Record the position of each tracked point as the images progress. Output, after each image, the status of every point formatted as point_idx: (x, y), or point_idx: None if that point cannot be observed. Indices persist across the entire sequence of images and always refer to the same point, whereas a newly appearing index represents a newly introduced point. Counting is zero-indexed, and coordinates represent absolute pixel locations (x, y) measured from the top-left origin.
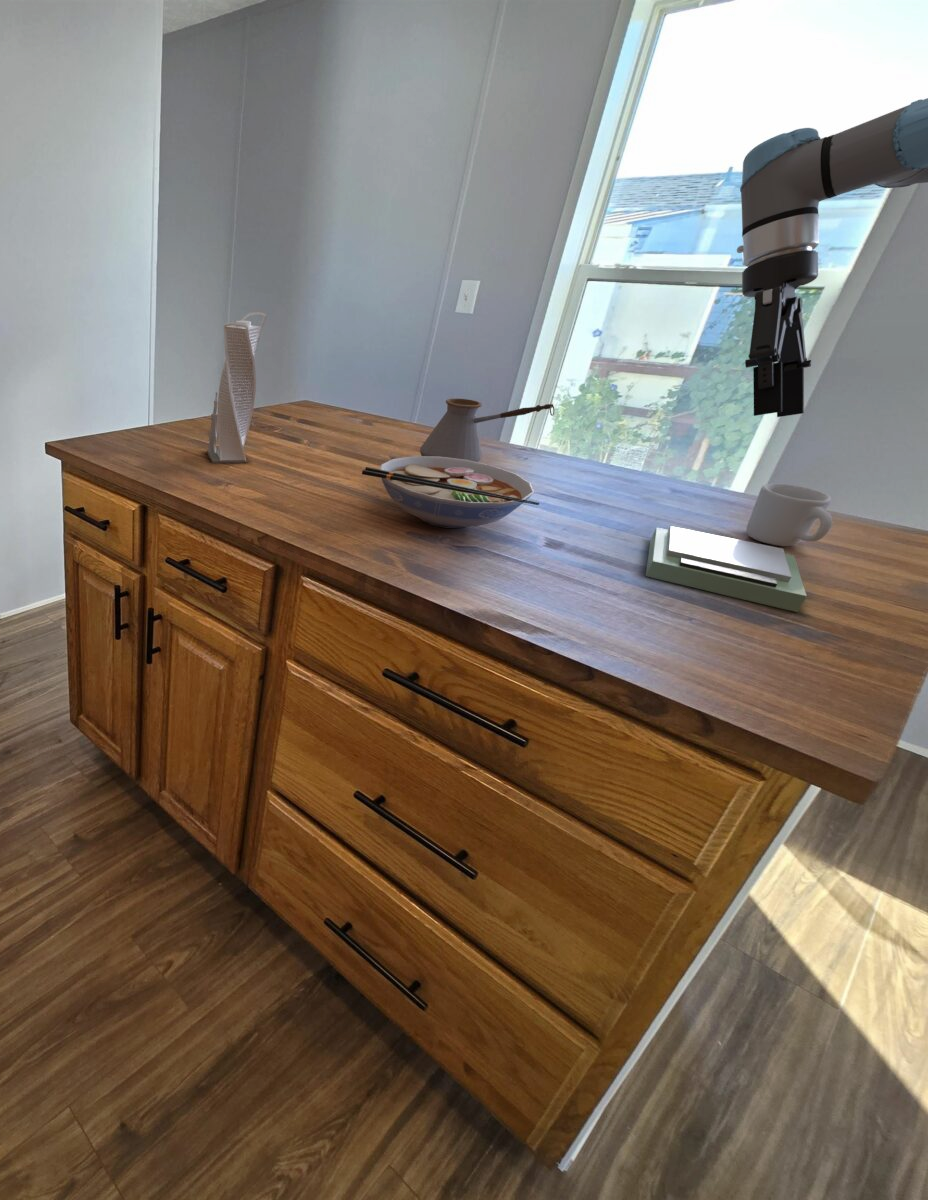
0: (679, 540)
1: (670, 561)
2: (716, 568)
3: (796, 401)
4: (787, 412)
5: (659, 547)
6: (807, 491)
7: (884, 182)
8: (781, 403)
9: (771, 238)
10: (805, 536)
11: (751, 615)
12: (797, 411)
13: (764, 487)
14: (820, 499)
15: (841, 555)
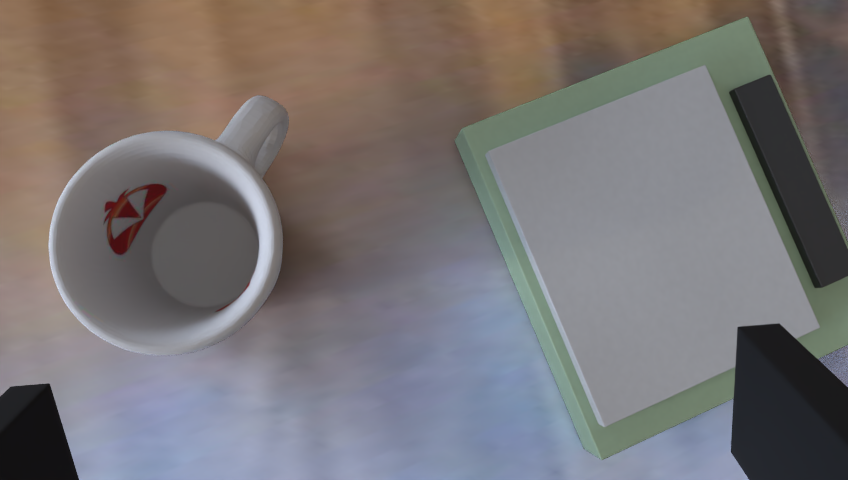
0: (713, 348)
1: (845, 298)
2: (811, 201)
3: (4, 473)
4: (61, 467)
5: None
6: (70, 229)
7: None
8: (795, 351)
9: None
10: (271, 156)
11: (834, 88)
12: (45, 419)
13: (217, 336)
14: (113, 173)
15: (151, 90)
